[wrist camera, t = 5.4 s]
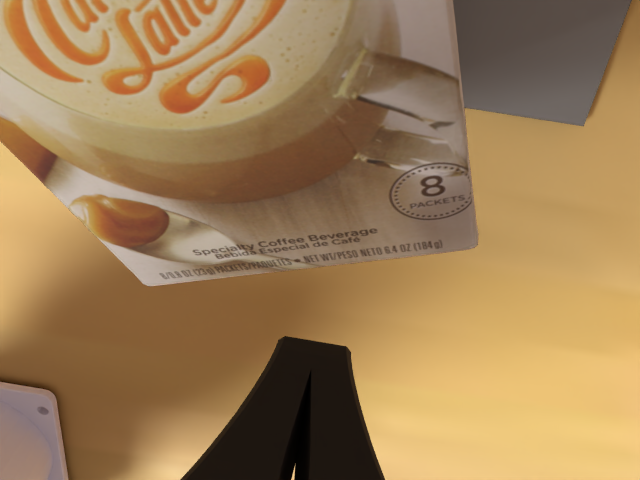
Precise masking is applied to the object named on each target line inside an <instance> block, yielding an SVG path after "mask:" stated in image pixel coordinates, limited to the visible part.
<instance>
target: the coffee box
mask: <svg viewBox="0 0 640 480" xmlns="http://www.w3.org/2000/svg"><path fill="white" fill-rule="evenodd" d="M0 141H1V142H2V143H3V144H4V145H5V146H6V147H7V148H8V149H9V150H10V151H11V152H12V153H13V154H14V155H15V156H16V157H17V158H18V159H19V160H20V161H21V162H22V163H23V164H24V165H25V166H26V167H27V168H28V169H29V170H30V171H31V172H32V173H33V174H34V175H35V176H36V177H37V178H38V179H39V180H40V181H41V182H42V183H43V184H44V185H45V186H46V187H47V188H48V189H49V190H50V191H51V192H52V193H53V194H54V195H55V196H56V197H57V198H58V199H59V200H60V201H61V202H62V203H63V204H64V205H65V206H66V207H67V208H68V209H69V210H70V211H71V212H72V213H73V214H74V215H75V216H76V217H77V218H78V219H79V220H80V221H81V222H82V223H83V224H84V225H85V226H86V227H87V228H88V229H89V230H90V231H91V232H92V233H93V234H94V235H95V236H96V237H97V238H98V239H99V240H100V241H101V242H102V243H103V244H104V245H105V246H106V247H107V248H108V249H109V250H110V251H111V252H112V253H113V254H114V255H115V256H116V257H117V258H118V259H119V260H120V261H121V262H122V263H123V264H124V265H125V266H126V267H127V268H128V269H129V270H130V271H131V272H132V273H134V275H135V276H136V277H137V278H138V279H139V280H140V281H141V282H142V284H144V285H147V286H159V285H167V284H175V283H184V282H192V281H201V280H210V279H220V278H227V277H235V276H243V275H252V274H262V273H271V272H280V271H289V270H298V269H307V268H315V267H323V266H332V265H342V264H351V263H359V262H367V261H375V260H385V259H395V258H404V257H412V256H420V255H429V254H438V253H446V252H452V251H461V250H467V249H472V248H475V247H476V246H477V245H478V229H477V222H476V214H475V206H474V197H473V188H472V179H471V171H470V162H469V153H468V142H467V131H466V120H465V110H464V101H463V92H462V83H461V73H460V64H459V53H458V43H457V33H456V23H455V15H454V7H453V0H0Z"/></svg>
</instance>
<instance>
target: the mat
mask: <svg viewBox="0 0 640 480" xmlns="http://www.w3.org/2000/svg"><path fill="white" fill-rule="evenodd" d="M631 1H632V0H453V7H454V15H455V23H456V33H457V43H458V53H459V64H460V73H461V83H462V92H463V101H464V108H470V109H477V110H483V111H489V112H496V113H502V114H509V115H515V116H521V117H528V118H534V119H541V120H547V121H553V122H560V123H566V124H572V125H579V126H584V124H585V121H586V118H587V116H588V113H589V111H590V108H591V105H592V103H593V100H594V98H595V95H596V92H597V90H598V87H599V84H600V82H601V79H602V77H603V74H604V71H605V69H606V66H607V64H608V61H609V58H610V56H611V53H612V50H613V48H614V45H615V43H616V40H617V37H618V35H619V32H620V30H621V27H622V24H623V22H624V19H625V16H626V14H627V11H628V9H629V6H630V3H631Z"/></svg>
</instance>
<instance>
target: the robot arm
mask: <svg viewBox="0 0 640 480" xmlns="http://www.w3.org/2000/svg"><path fill="white" fill-rule="evenodd" d="M295 463H296V464H295ZM294 466H295V479H294V480H385V478H384V476H383V473H382V470H381V468H380V465H379V463H378V460H377V457H376V454H375V451H374V449H373V446H372V443H371V440H370V436H369V433H368V430H367V427H366V424H365V420H364V417H363V414H362V410H361V406H360V403H359V399H358V394H357V390H356V386H355V381H354V376H353V370H352V362H351V352H350V351H349V349H348V348H347V347H346V346H340V345H334V344H328V343H322V342H316V341H310V340H304V339H298V338H292V337H286V336H285V337H283V338H281V339H279V340H278V343H277V346H276V348H275V350H274V352H273V354H272V356H271V358H270V360H269V362H268V364H267V366H266V368H265V369H264V371H263V373H262V374H261V376H260V378H259V379H258V381H257V383H256V384H255V386H254V387H253V389H252V390H251V392H250V393H249V395H248V396H247V397H246V399H245V400H244V402H243V403H242V405H241V406H240V408H239V409H238V411H237V412H236V413H235V415H234V416H233V417H232V419H231V420H230V421H229V423H228V424H227V425H226V426H225V428H224V429H223V430H222V432H221V433H220V434H219V435H218V437H217V438H216V439H215V440H214V442H213V443H212V444H211V446H210V447H209V448H208V449H207V450H206V452H205V453H204V454H203V455H202V456H201V457H200V459H199V460H198V461H197V462H196V463H195V464H194V465H193V467H192V468H191V469H190V470H189V471H188V472H187V473H186V474H185V475H184V476H183V477H182V479H181V480H291V478H292V474H293V470H294ZM0 480H69V479H68V473H67V466H66V460H65V453H64V446H63V440H62V433H61V427H60V420H59V414H58V407H57V401H56V397H55V395H54V394H53V393H52V392H50V391H49V390H46V389H40V388H34V387H28V386H22V385H16V384H10V383H4V382H0Z"/></svg>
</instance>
